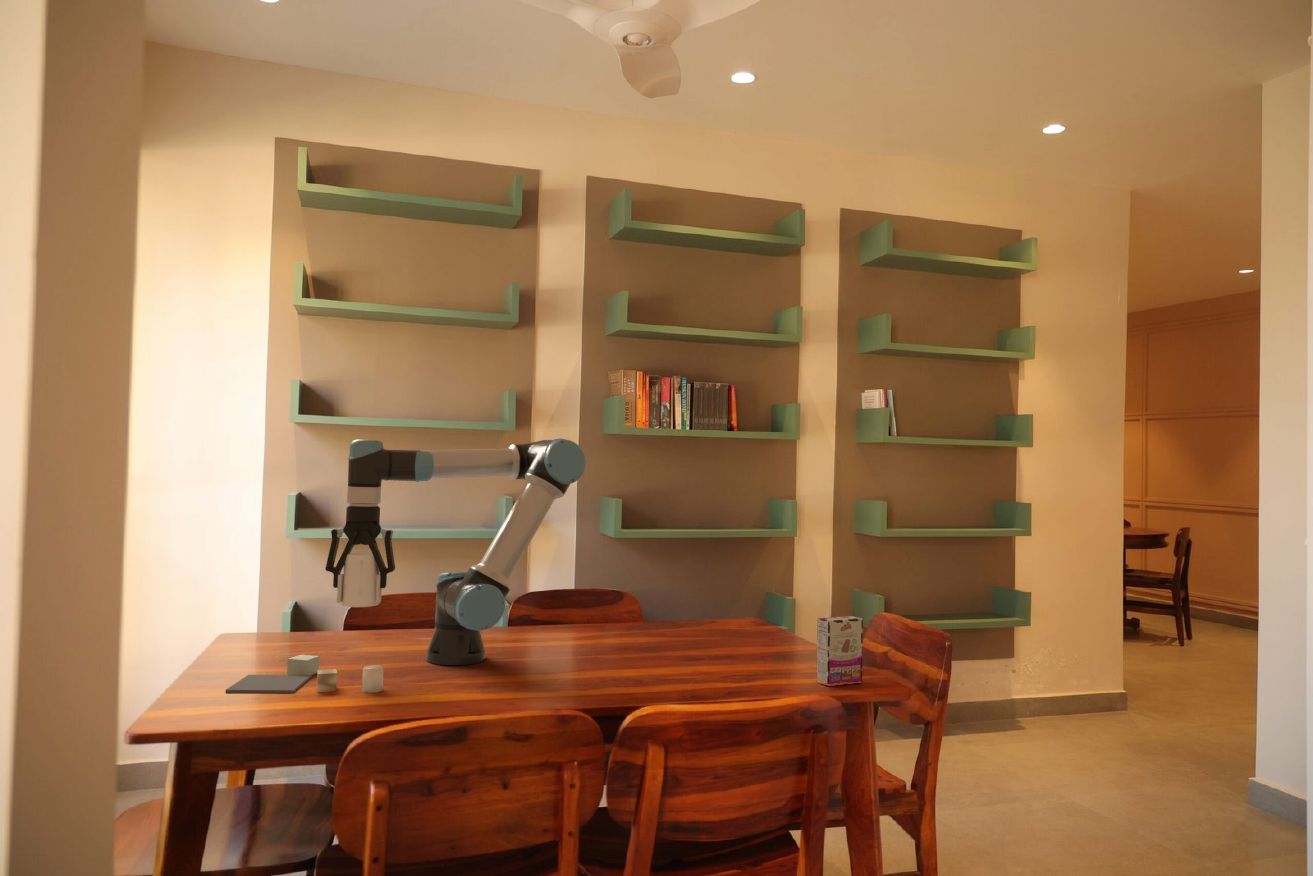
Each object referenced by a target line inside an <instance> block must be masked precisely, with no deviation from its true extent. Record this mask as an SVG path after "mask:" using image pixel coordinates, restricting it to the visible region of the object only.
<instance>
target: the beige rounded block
mask: <svg viewBox="0 0 1313 876" xmlns="http://www.w3.org/2000/svg"><path fill="white" fill-rule="evenodd" d="M384 669H385V668H384V666H383V665H377V664H376V665H374V664H373V665H365V666H363V668H362V681H361V682H362V683H361V691H362V692H363V693H367V694H369V693H373V694H374V693H379V692H383V688H384V672H385V671H384Z"/></svg>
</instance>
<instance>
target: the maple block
mask: <svg viewBox="0 0 1313 876" xmlns="http://www.w3.org/2000/svg"><path fill="white" fill-rule="evenodd" d="M316 674H317V675H316V693H323V692H324V693H325V692H337V685H338V670H337V668H332V669H330V668H329V669H328V668H327V669H319V670H318V671H317V673H316Z"/></svg>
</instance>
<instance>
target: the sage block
mask: <svg viewBox="0 0 1313 876" xmlns="http://www.w3.org/2000/svg"><path fill="white" fill-rule="evenodd" d="M286 666H287V668H286V669H287V670H286V675H311V676H312V675H315V674H317V671H318V670H320V667H319V666H320V655H311V654H310V655H308V654H299V655H295V656H292V657H289V658H287V665H286Z"/></svg>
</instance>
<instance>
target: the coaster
mask: <svg viewBox="0 0 1313 876" xmlns="http://www.w3.org/2000/svg"><path fill="white" fill-rule="evenodd" d="M311 679H312V675H287V674H248V675H245V676H244V677H243V678H241V679H240V680H238V681H237V682H236V683H234V684H233V685H231V686H229V687H228V688H226V689H225V693H226V694H228V693H229V694H230V693H233V694H235V693H237V694H239V693H240V694H241V693H242V694H244V693H245V694H246V693H247V694H250V693H253V694H295V692H296V691H298V690H299V689H300V688H301V687H302V686H304V684H306V683H307V682H309V680H311Z"/></svg>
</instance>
